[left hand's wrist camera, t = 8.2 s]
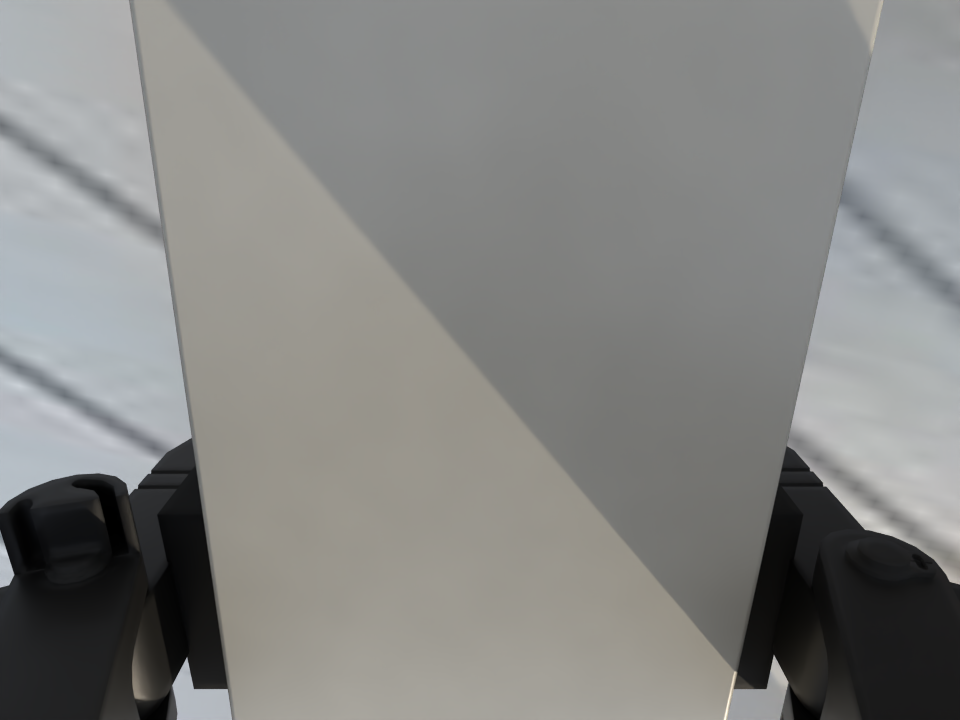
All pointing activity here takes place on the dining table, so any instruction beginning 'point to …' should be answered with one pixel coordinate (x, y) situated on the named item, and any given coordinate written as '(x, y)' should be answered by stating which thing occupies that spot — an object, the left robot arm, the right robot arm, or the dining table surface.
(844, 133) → the beam
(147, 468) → the dining table surface
